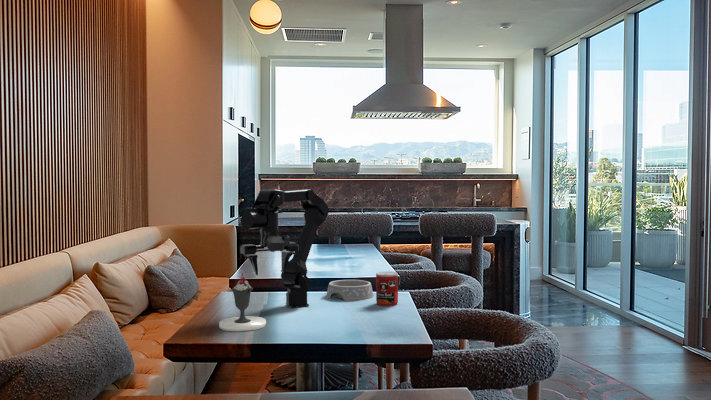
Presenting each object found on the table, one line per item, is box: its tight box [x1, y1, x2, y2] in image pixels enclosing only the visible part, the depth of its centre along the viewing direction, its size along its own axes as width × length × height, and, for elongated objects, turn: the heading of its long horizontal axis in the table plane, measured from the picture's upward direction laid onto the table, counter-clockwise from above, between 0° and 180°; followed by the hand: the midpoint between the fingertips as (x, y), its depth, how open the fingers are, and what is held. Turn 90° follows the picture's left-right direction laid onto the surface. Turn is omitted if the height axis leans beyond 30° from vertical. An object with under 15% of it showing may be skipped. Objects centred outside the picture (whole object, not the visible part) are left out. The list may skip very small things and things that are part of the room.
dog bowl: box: [325, 279, 375, 302], centre depth 219 cm, size 17×18×5 cm
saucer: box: [218, 315, 267, 332], centre depth 174 cm, size 14×14×1 cm
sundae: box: [230, 273, 254, 323], centre depth 174 cm, size 7×7×15 cm
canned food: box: [375, 271, 399, 307], centre depth 204 cm, size 8×8×11 cm
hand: (270, 274), depth 191 cm, fingers open, 9 cm apart
